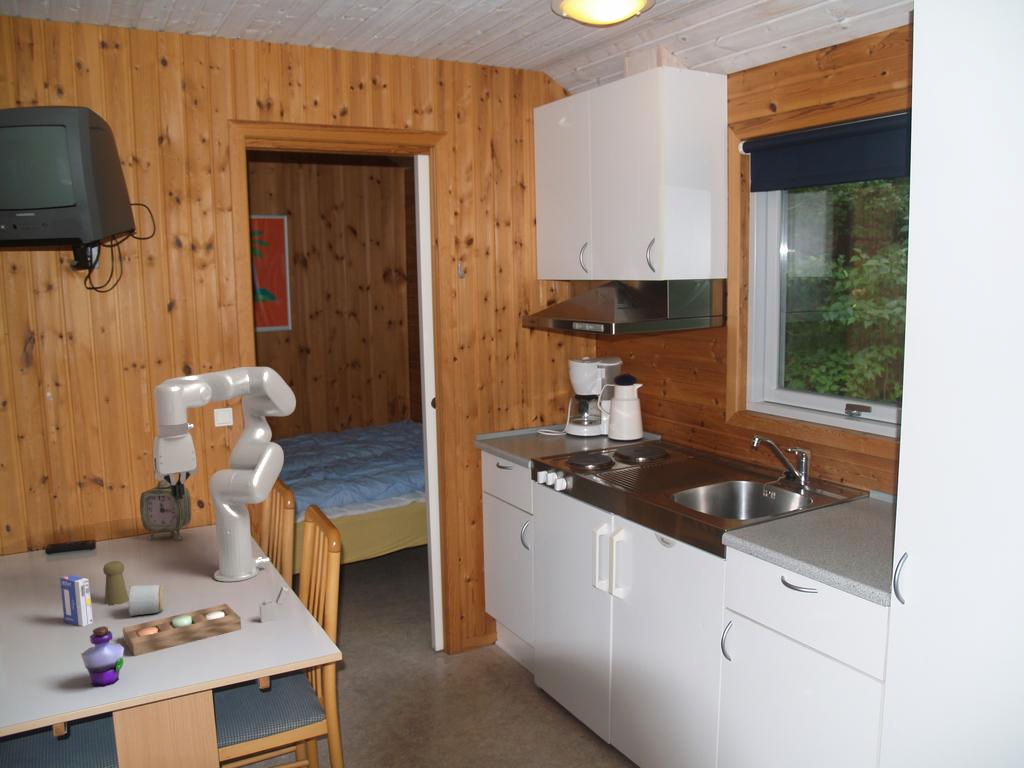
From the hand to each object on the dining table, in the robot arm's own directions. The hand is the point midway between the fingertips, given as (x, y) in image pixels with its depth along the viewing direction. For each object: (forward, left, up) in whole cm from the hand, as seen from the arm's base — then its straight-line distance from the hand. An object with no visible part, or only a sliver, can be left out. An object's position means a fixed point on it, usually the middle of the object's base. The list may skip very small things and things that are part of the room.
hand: (178, 498), depth 235 cm
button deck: (+7, +22, -29) cm, 37 cm away
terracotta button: (+15, +22, -28) cm, 39 cm away
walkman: (+26, -4, -29) cm, 39 cm away
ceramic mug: (+10, -1, -29) cm, 31 cm away
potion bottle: (+27, +38, -29) cm, 55 cm away
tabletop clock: (-12, -68, -29) cm, 75 cm away
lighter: (-15, +27, -29) cm, 42 cm away
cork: (+15, -14, -29) cm, 36 cm away
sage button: (+7, +22, -27) cm, 36 cm away
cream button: (-1, +22, -28) cm, 36 cm away
